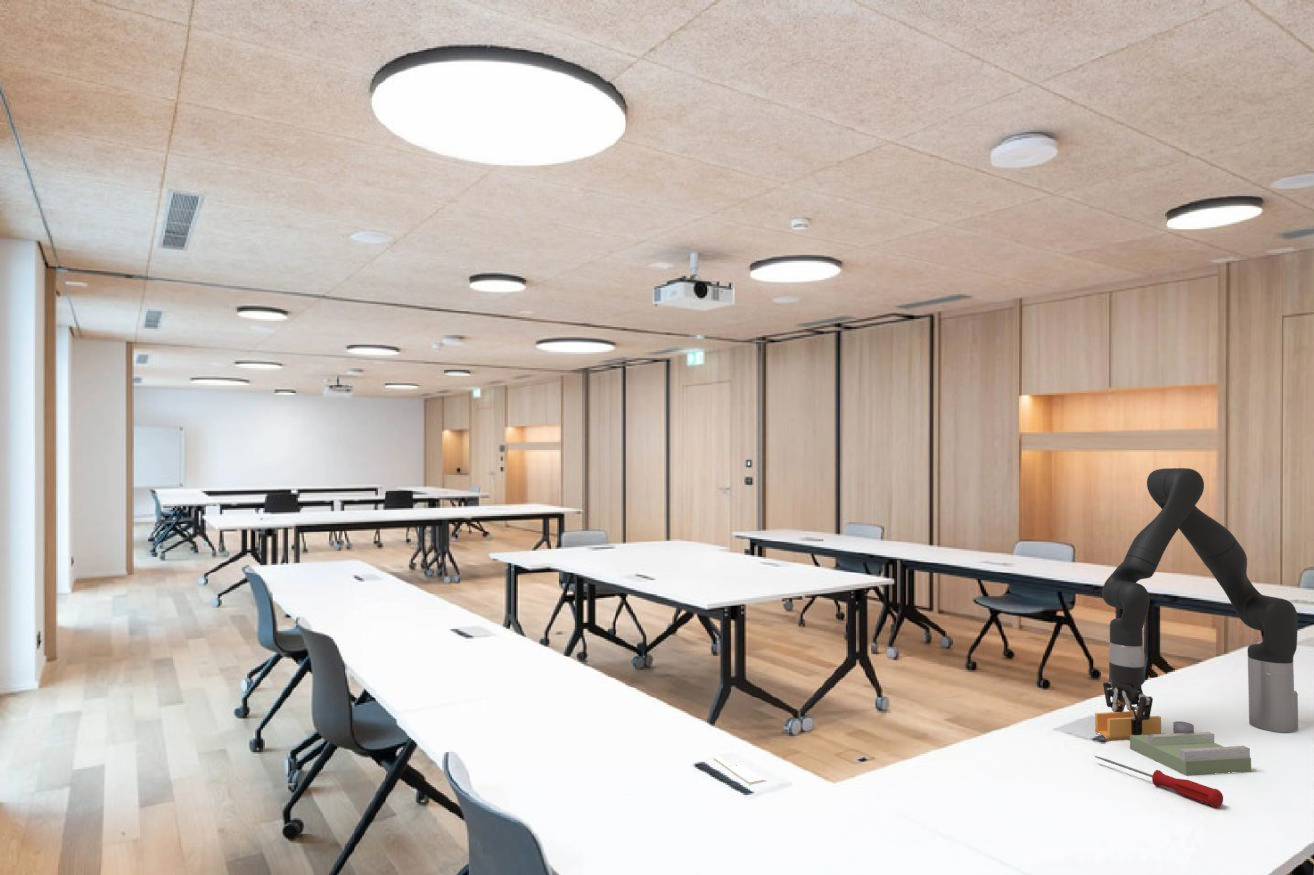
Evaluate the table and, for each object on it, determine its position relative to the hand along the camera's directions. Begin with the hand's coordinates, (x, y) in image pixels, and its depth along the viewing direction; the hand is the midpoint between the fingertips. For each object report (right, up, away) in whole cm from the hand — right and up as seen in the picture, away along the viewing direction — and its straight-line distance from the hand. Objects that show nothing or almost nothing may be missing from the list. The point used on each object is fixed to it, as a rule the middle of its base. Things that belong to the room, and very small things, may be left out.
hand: (1127, 730), depth 189 cm
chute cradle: (+5, +3, -18) cm, 19 cm away
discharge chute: (0, -1, 0) cm, 1 cm away
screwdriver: (-13, 0, -29) cm, 32 cm away
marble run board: (+4, -1, -16) cm, 16 cm away
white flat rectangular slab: (-98, 0, -23) cm, 101 cm away
